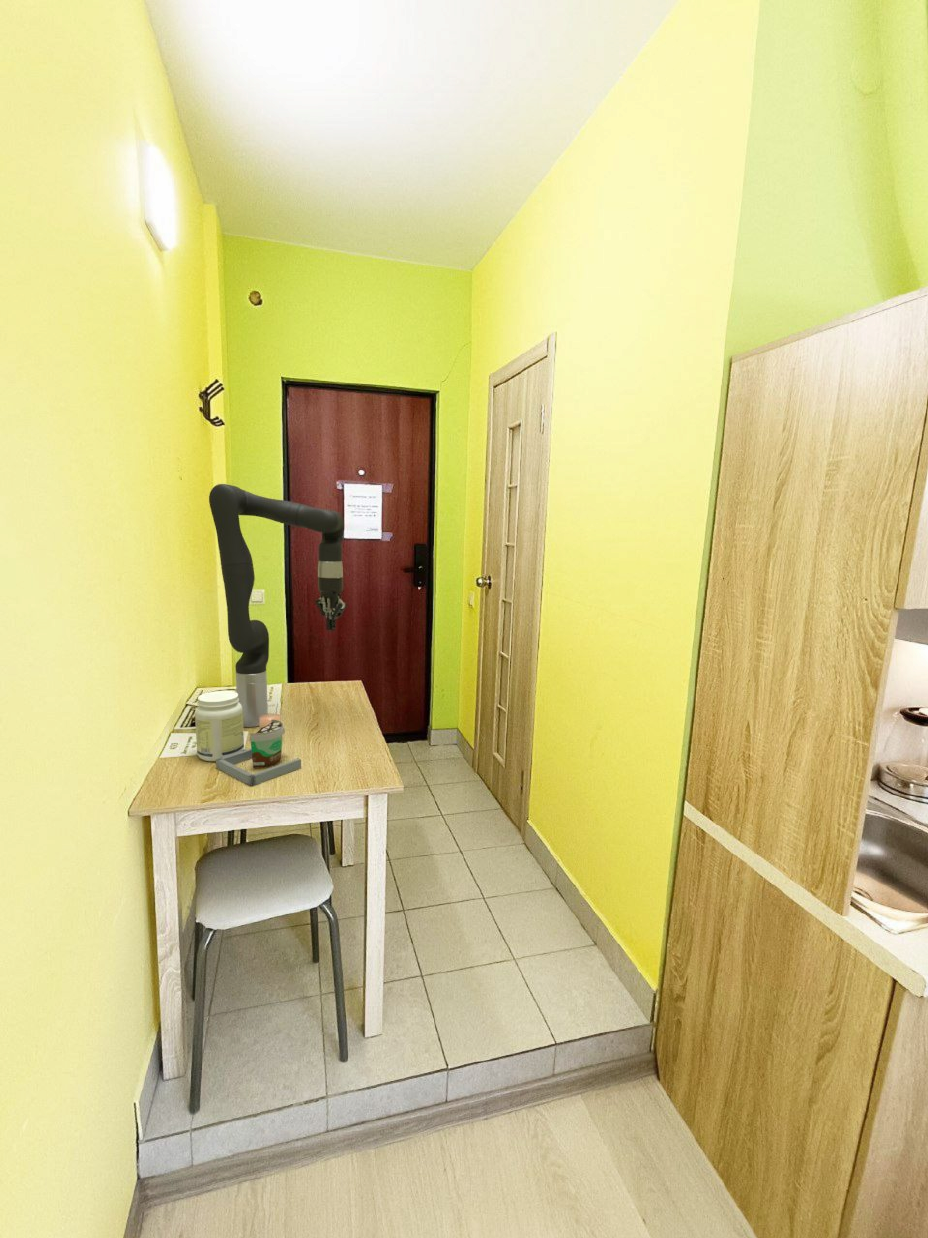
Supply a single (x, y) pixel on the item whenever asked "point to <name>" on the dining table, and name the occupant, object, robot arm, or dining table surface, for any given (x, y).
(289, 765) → the frame
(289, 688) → the dining table surface
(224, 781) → the dining table surface
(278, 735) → the food container
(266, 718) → the peach rounded cylinder
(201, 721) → the supplement tub
